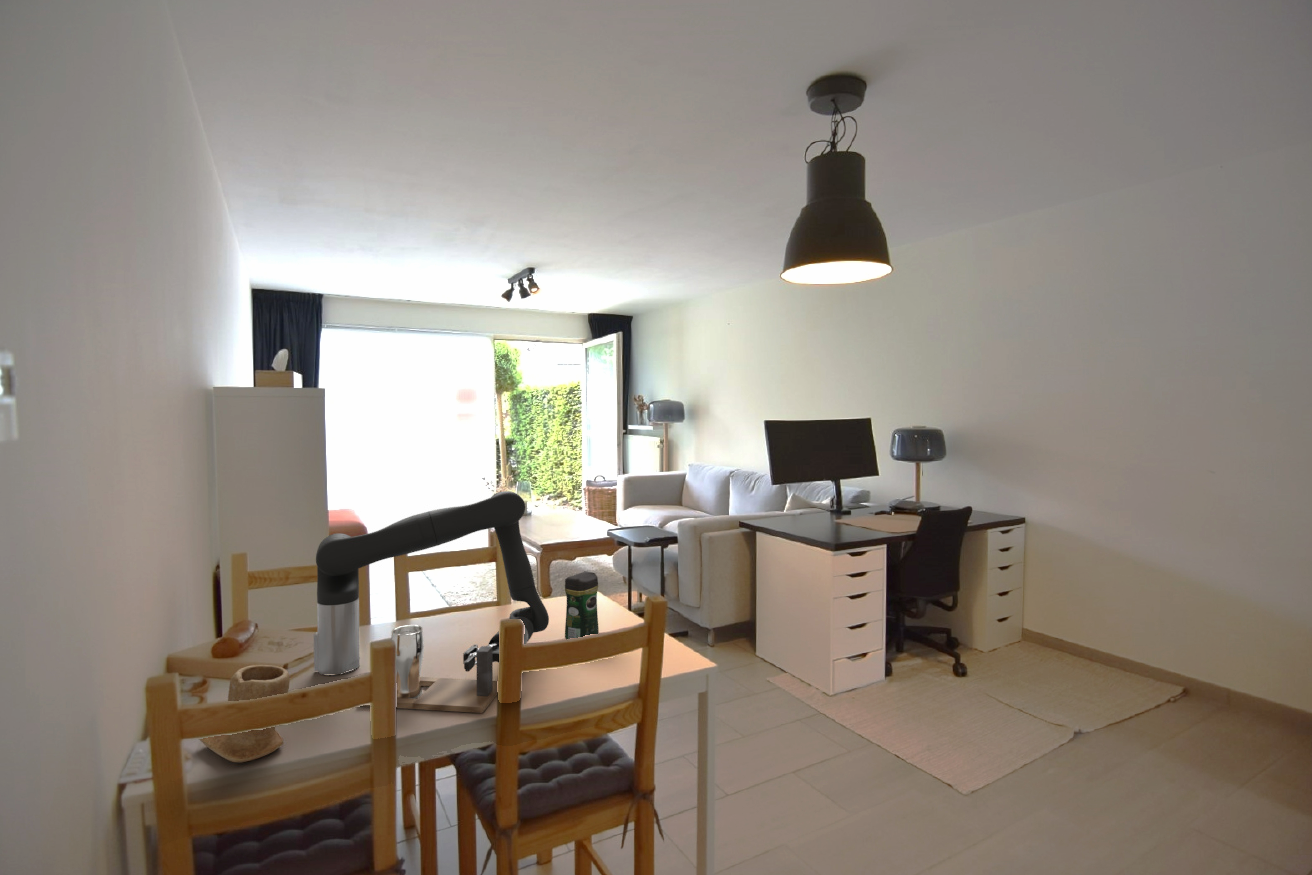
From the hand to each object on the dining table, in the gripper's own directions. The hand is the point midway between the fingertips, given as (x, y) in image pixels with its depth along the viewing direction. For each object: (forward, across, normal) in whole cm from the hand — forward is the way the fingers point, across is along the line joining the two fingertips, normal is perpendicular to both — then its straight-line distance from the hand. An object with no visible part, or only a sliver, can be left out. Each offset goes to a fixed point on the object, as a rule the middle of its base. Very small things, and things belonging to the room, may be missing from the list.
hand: (485, 668), depth 140 cm
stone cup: (+24, -37, +7) cm, 45 cm away
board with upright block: (0, -12, +7) cm, 14 cm away
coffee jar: (-40, +13, +7) cm, 42 cm away
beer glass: (0, -18, +7) cm, 19 cm away
